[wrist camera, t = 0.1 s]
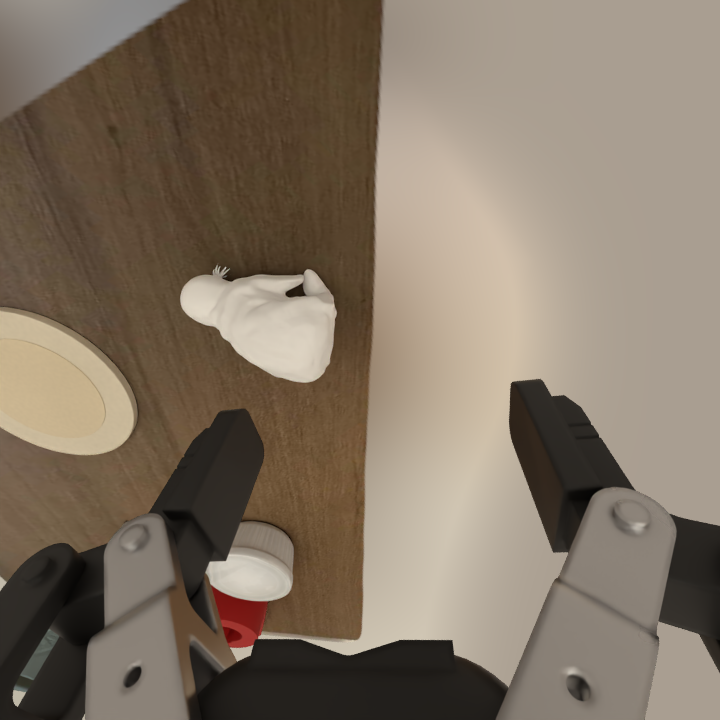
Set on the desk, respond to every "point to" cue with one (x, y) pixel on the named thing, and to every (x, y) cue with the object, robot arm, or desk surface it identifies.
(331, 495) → the desk surface
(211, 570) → the ramekin
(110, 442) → the plate
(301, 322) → the white animal figurine
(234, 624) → the lever
